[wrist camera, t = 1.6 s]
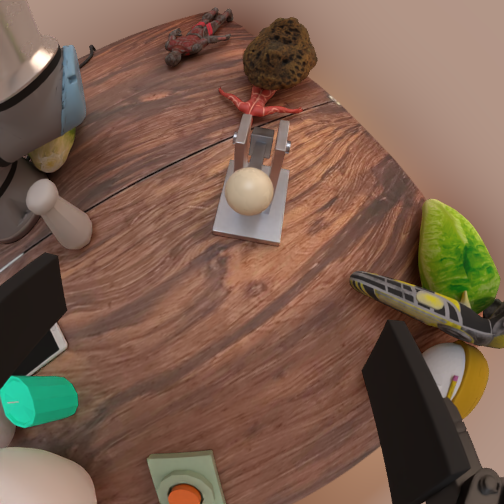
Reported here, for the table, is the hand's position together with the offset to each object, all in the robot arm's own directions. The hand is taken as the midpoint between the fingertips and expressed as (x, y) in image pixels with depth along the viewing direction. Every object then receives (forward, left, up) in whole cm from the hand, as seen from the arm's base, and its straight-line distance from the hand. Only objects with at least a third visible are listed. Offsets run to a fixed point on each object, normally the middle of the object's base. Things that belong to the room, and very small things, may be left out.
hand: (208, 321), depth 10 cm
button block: (+18, -8, -26) cm, 33 cm away
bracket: (-19, +7, -26) cm, 33 cm away
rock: (-55, +22, -16) cm, 62 cm away
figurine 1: (-81, +10, -24) cm, 85 cm away
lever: (-14, +5, -12) cm, 19 cm away
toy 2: (+6, +17, -22) cm, 29 cm away
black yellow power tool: (-4, +29, -15) cm, 33 cm away
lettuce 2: (-4, +30, -26) cm, 40 cm away
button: (+18, -8, -23) cm, 30 cm away
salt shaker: (-18, -19, -26) cm, 37 cm away
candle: (+5, -24, -26) cm, 36 cm away
